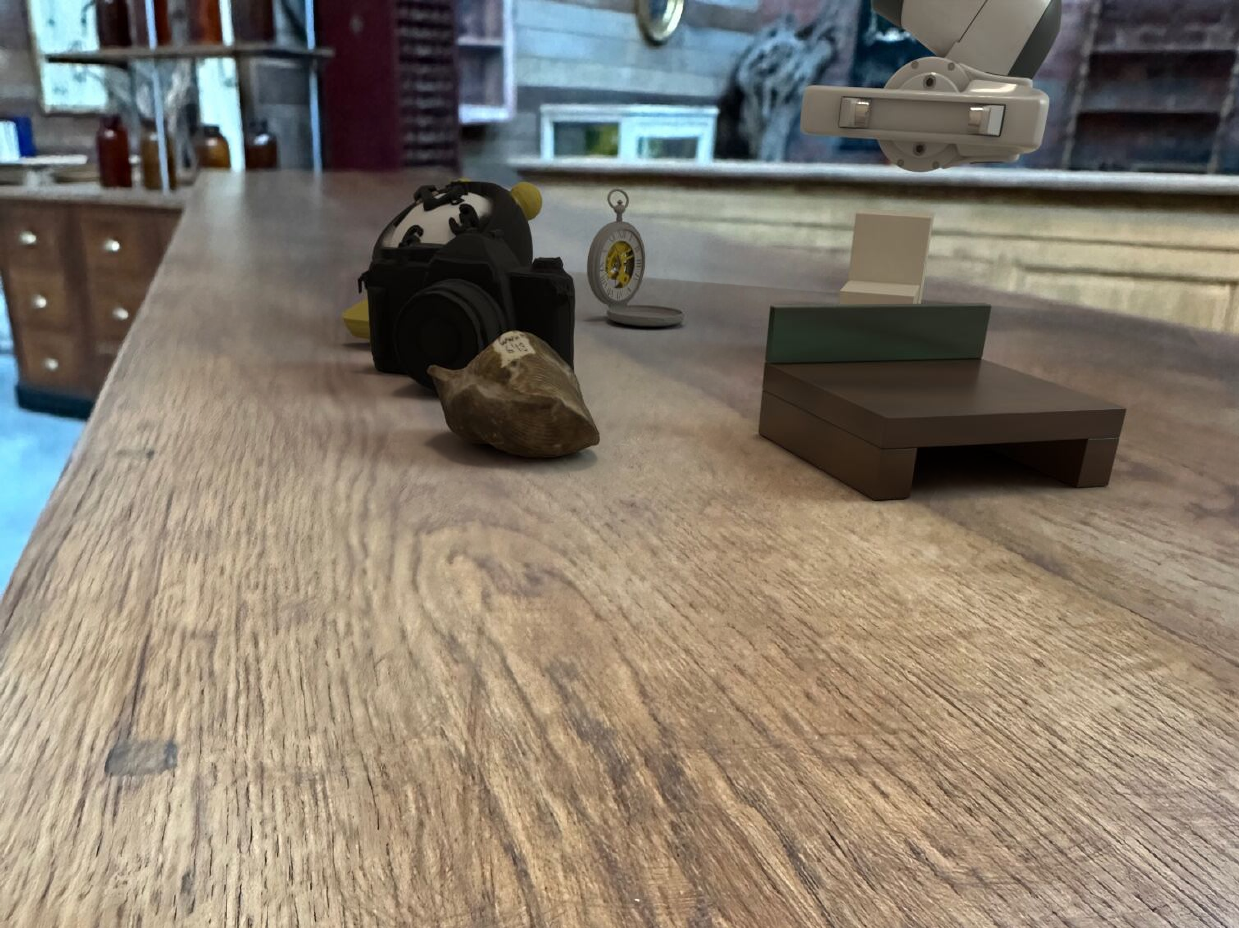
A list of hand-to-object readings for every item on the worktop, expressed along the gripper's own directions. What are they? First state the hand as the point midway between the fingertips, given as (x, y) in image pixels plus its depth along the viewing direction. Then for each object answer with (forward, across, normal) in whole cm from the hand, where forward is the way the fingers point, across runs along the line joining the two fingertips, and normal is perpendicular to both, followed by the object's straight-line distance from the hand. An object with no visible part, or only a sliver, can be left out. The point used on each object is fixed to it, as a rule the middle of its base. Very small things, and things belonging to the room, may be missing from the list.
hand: (917, 116), depth 97 cm
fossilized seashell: (+51, -16, +16) cm, 56 cm away
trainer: (+15, 0, +16) cm, 22 cm away
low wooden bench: (+44, +6, +16) cm, 47 cm away
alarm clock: (+20, -32, +16) cm, 42 cm away
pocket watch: (+6, -21, +16) cm, 27 cm away
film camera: (+36, -25, +16) cm, 47 cm away
